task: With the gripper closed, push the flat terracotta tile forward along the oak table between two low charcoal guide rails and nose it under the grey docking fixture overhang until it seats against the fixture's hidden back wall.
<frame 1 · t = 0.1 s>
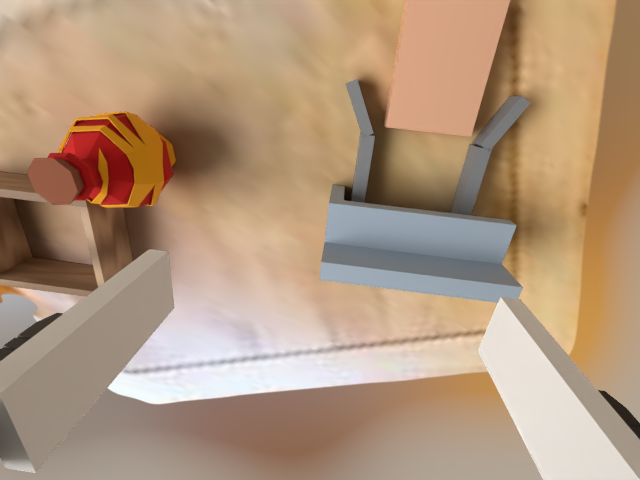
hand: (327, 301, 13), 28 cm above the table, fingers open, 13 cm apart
grey docking fixture: (411, 181, 38), on the table
potion bottle: (156, 151, 39), on the table
walnut display tray: (70, 226, 45), on the table
terracotta tile: (435, 70, 33), on the table
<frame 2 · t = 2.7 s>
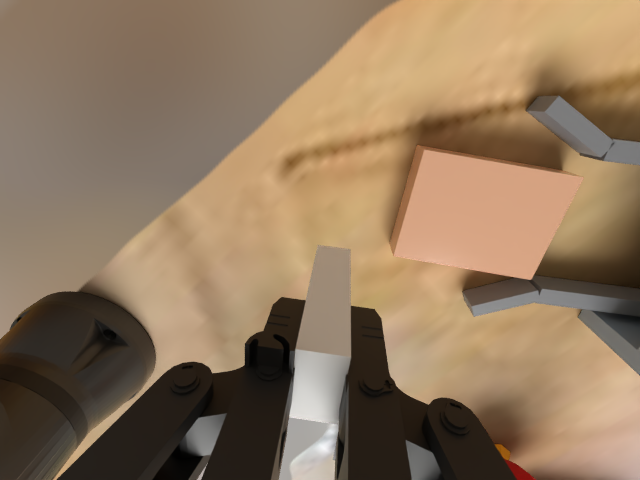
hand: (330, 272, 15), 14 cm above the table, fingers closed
grey docking fixture: (609, 226, 27), on the table
potion bottle: (487, 454, 41), on the table
terracotta tile: (468, 207, 28), on the table
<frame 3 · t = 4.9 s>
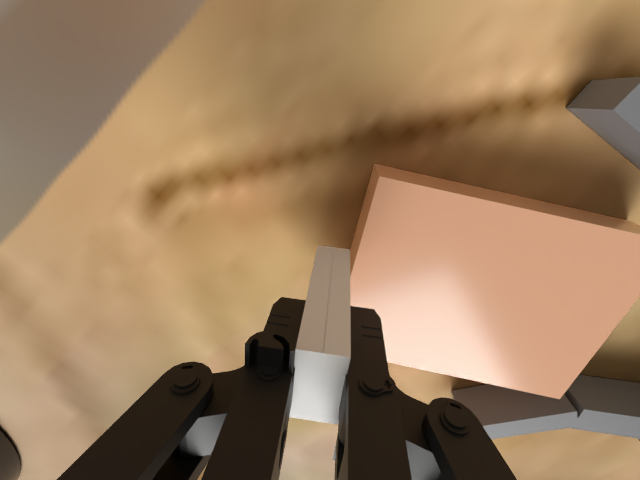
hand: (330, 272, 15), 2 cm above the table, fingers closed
terracotta tile: (460, 269, 17), on the table, touching gripper
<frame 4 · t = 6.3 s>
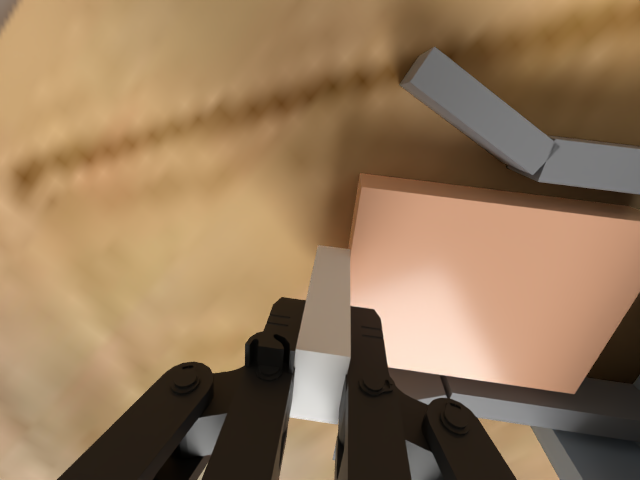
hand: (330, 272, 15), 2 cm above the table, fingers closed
grey docking fixture: (568, 289, 16), on the table
terracotta tile: (459, 269, 17), on the table, touching gripper
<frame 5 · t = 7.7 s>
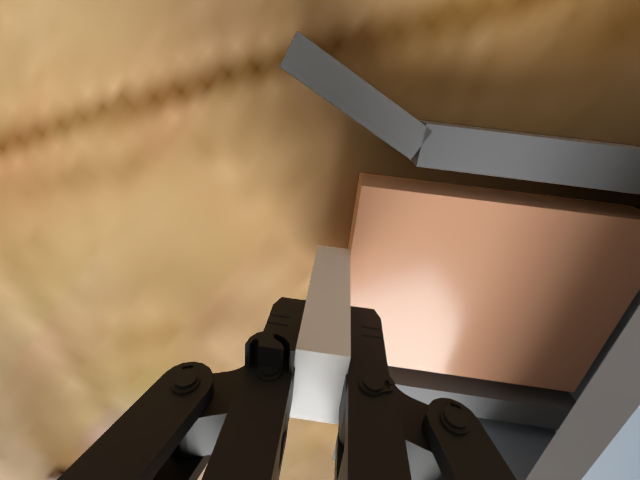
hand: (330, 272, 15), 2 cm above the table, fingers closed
grey docking fixture: (479, 277, 16), on the table
terracotta tile: (459, 268, 17), on the table
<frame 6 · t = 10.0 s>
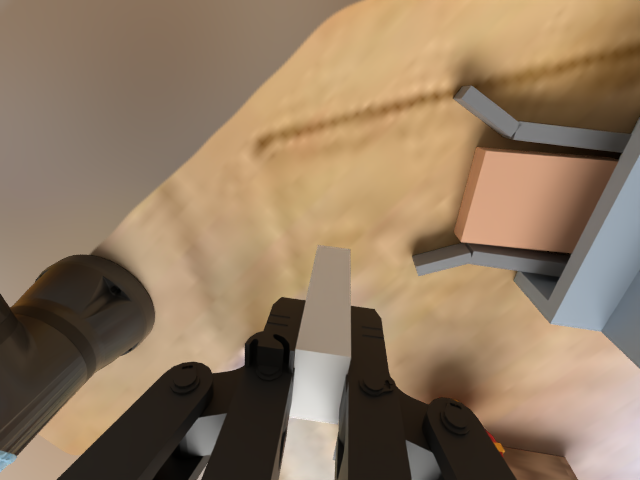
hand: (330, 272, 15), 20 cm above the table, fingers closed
grey docking fixture: (532, 199, 32), on the table
terracotta tile: (523, 196, 32), on the table
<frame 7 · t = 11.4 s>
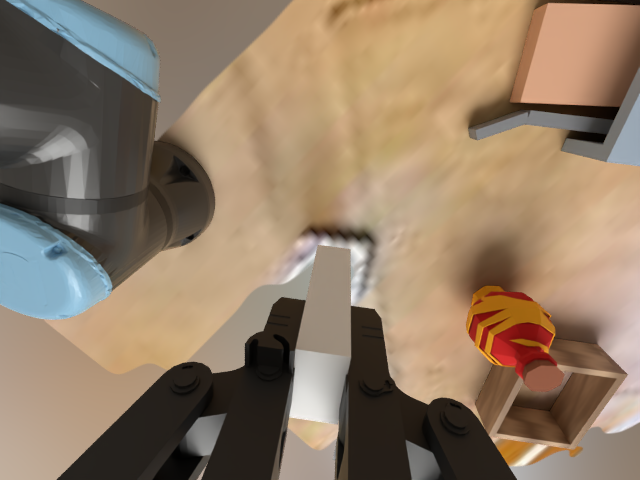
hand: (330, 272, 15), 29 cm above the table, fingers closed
grey docking fixture: (584, 61, 35), on the table
potion bottle: (487, 298, 48), on the table
walnut display tray: (531, 376, 54), on the table
terracotta tile: (574, 60, 35), on the table
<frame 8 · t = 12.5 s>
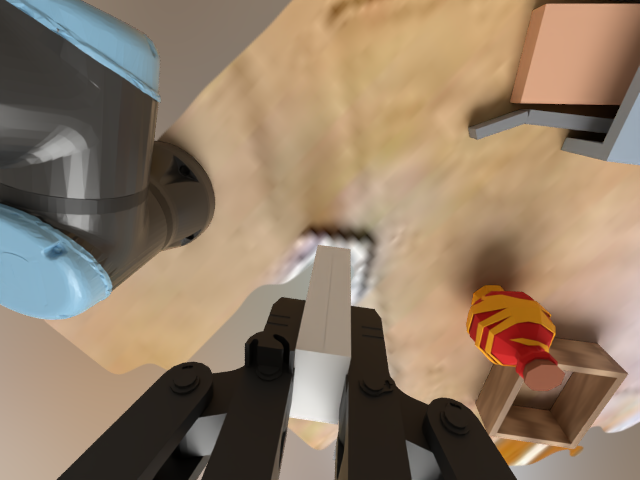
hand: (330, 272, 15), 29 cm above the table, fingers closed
grey docking fixture: (583, 60, 35), on the table
potion bottle: (487, 297, 48), on the table
walnut display tray: (532, 375, 54), on the table
terracotta tile: (574, 59, 35), on the table
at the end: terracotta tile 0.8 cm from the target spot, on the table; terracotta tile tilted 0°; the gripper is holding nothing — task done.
